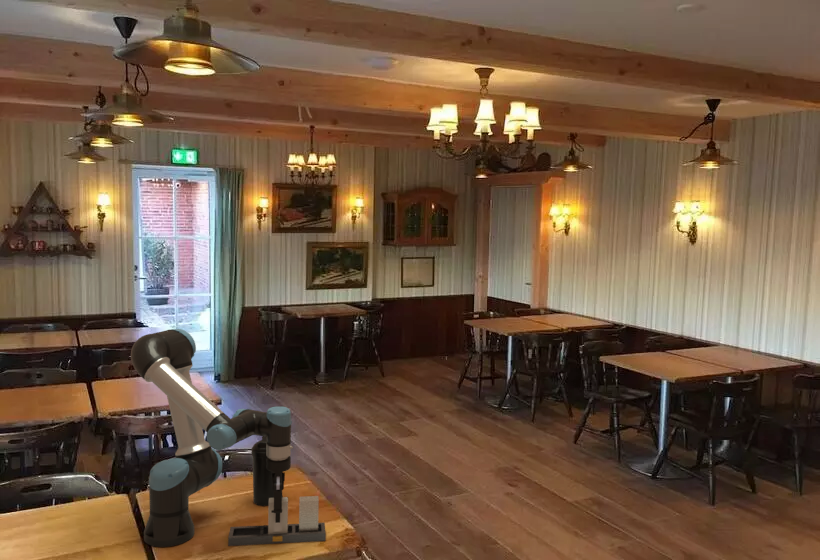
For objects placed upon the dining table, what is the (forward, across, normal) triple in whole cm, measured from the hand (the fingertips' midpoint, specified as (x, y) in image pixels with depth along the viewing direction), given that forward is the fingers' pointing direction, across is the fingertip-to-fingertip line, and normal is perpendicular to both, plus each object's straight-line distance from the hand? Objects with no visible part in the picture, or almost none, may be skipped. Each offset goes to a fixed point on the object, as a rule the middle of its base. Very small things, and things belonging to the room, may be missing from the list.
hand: (277, 527), depth 213 cm
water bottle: (+4, +28, +5) cm, 29 cm away
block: (+3, 0, 0) cm, 3 cm away
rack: (+4, 0, 0) cm, 4 cm away
